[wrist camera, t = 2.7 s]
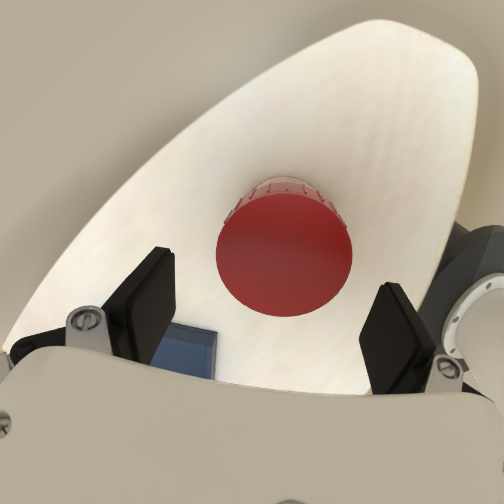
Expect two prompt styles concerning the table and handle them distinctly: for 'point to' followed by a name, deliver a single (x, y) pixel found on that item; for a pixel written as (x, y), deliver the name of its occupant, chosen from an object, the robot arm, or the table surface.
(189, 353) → the tray
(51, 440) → the robot arm
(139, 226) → the table surface
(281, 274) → the lid
